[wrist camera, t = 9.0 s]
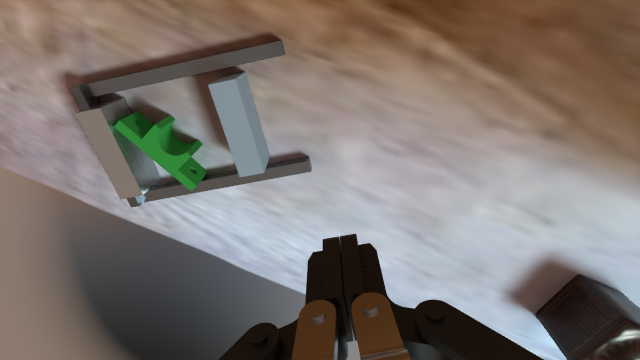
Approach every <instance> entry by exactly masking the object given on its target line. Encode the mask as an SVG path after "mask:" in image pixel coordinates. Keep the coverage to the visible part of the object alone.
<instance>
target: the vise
mask: <svg viewBox="0 0 640 360" xmlns="http://www.w3.org/2000/svg"><path fill="white" fill-rule="evenodd" d="M284 54H285V51H284V47H283V43H282V40H279V41H275V42H271V43H266V44H262V45H257V46H253V47H248V48H244V49H239V50H235V51H230V52H226V53H221V54H217V55H212V56H208V57H203V58H199V59H194V60H190V61H185V62H181V63H177V64H172V65H168V66H163V67H159V68H154V69H150V70H145V71H141V72H136V73H132V74H127V75H123V76H118V77H114V78H109V79H105V80H100V81H96V82H92V83H87V84H83V85H79V86H76V87H72V88H69V89H70V91H71V93H72V95H73V97H74V99H75V101H76V103H77V105H78V107H79V108H80V110H81V111H80V112H77V113H75V115H76V117H77V119H78V121H79V122H80V124H81V126H82V128H83V130H84V132H85V134H86V136H87V137H88V139H89V141H90V143H91V145H92V147H93V149H94V151H95V152H96V154H97V156H98V158H99V160H100V162H101V164H102V166H103V167H104V169H105V171H106V173H107V175H108V177H109V179H110V181H111V182H112V184H113V186H114V188H115V190H116V192H117V194H118V196H119V198H120V199H125V198H127V200H128V202H129V204H130V206H131V207H136V206H140V205H141V204H142V203H143V202H148V201H154V200H159V199H164V198H170V197H175V196H181V195H186V194H192V193H197V192H203V191H208V190H213V189H219V188H224V187H230V186H235V185H241V184H246V183H251V182H257V181H262V180H268V179H273V178H279V177H284V176H290V175H295V174H300V173H306V172H311V169H312V166H311V162H310V158H309V157H305V158H299V159H294V160H289V161H283V162H278V163H273V164H267V166H266V169H265V172H264V173H261V174H255V175H250V176H244V177H239V174H238V171H237V170H235V171H230V172H225V173H220V174H214V175H209V176H204V177H203V179H202V180H201V181H200V183H199V184H198V186H197V187H196V188H195V189H193V190H192V191H190V190H189V189H188V188H187V187H185V186H184V185H183V184H182V183H181V182H179V181H177V182H172V183H166V184H161V185H156V186H153V185H154V184H155V183H156V182H157V181H158V180H159V179H160V178H161V177H160V175H159V173H158V171H157V168H156V166H155V164H154V162H153V160H152V158H151V157H149V156H148V155H147V154H146V153H145V152H143V151H142V150H141V149H140V148H139V147H137V146H136V145H135V144H134V143H133V142H131V141H130V140H129V139H128V138H127V137H125V136H124V135H123V134H122V133H121V132H119V131H118V130H117V129H116V128H115V127H114V126H115V125H116V124H117V123H118V121H119V120H121V119H123V118H125V117H127V116H129V115H131V112H130V109H129V107H128V105H127V103H126V101H125V98H122V99H117V100H113V101H108V102H104V103H102V102H101V100H100V98H99V95H104V94H109V93H113V92H118V91H122V90H127V89H131V88H136V87H140V86H145V85H150V84H154V83H159V82H163V81H168V80H172V79H177V78H182V77H186V76H191V75H195V74H200V73H204V72H209V71H214V70H218V69H223V68H227V67H232V66H236V65H241V64H246V63H250V62H255V61H259V60H264V59H268V58H273V57H278V56H282V55H284Z"/></svg>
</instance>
